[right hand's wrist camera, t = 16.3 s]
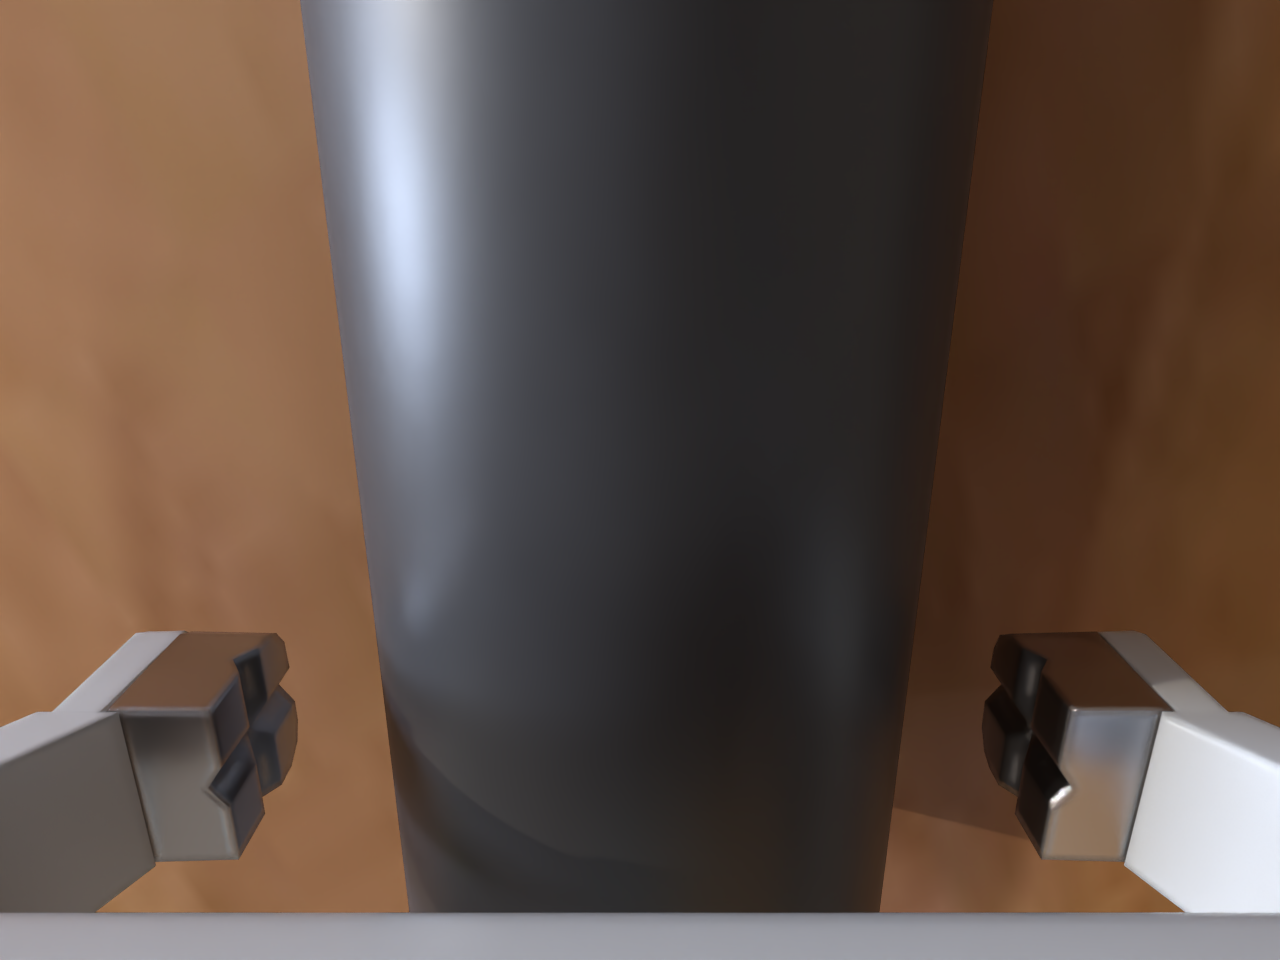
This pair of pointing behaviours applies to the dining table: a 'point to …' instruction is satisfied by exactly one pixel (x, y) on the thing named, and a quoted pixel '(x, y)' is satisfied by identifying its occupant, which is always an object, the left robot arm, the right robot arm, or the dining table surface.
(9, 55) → the dining table surface
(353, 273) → the rod
